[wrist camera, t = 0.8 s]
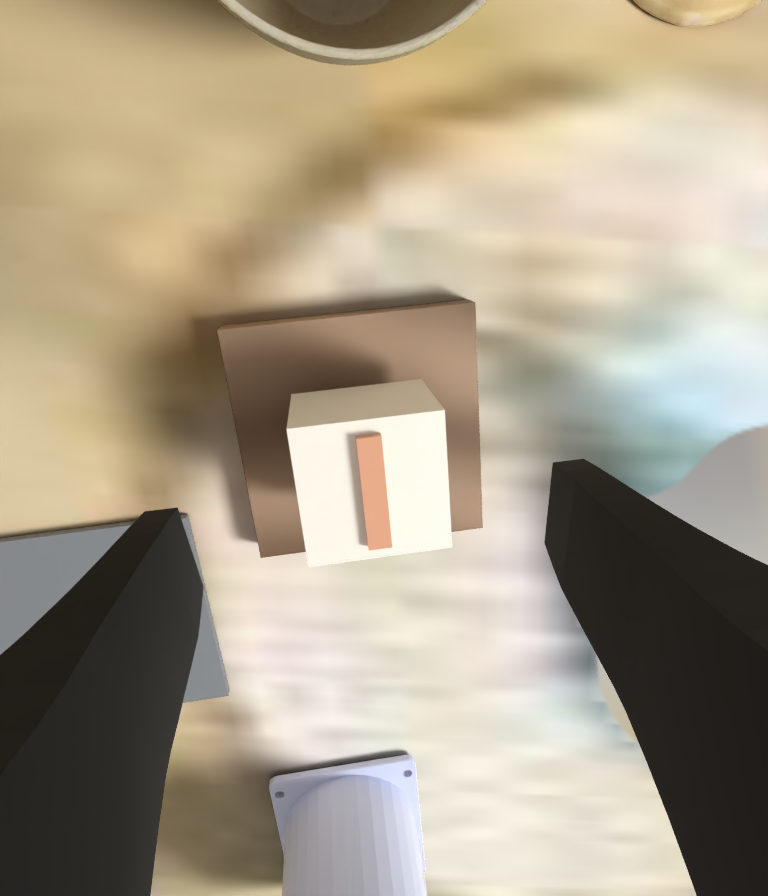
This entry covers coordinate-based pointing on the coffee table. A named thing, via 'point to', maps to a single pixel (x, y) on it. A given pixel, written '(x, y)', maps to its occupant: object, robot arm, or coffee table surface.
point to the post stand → (342, 366)
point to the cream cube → (370, 471)
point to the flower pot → (352, 26)
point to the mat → (62, 565)
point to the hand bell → (696, 10)
